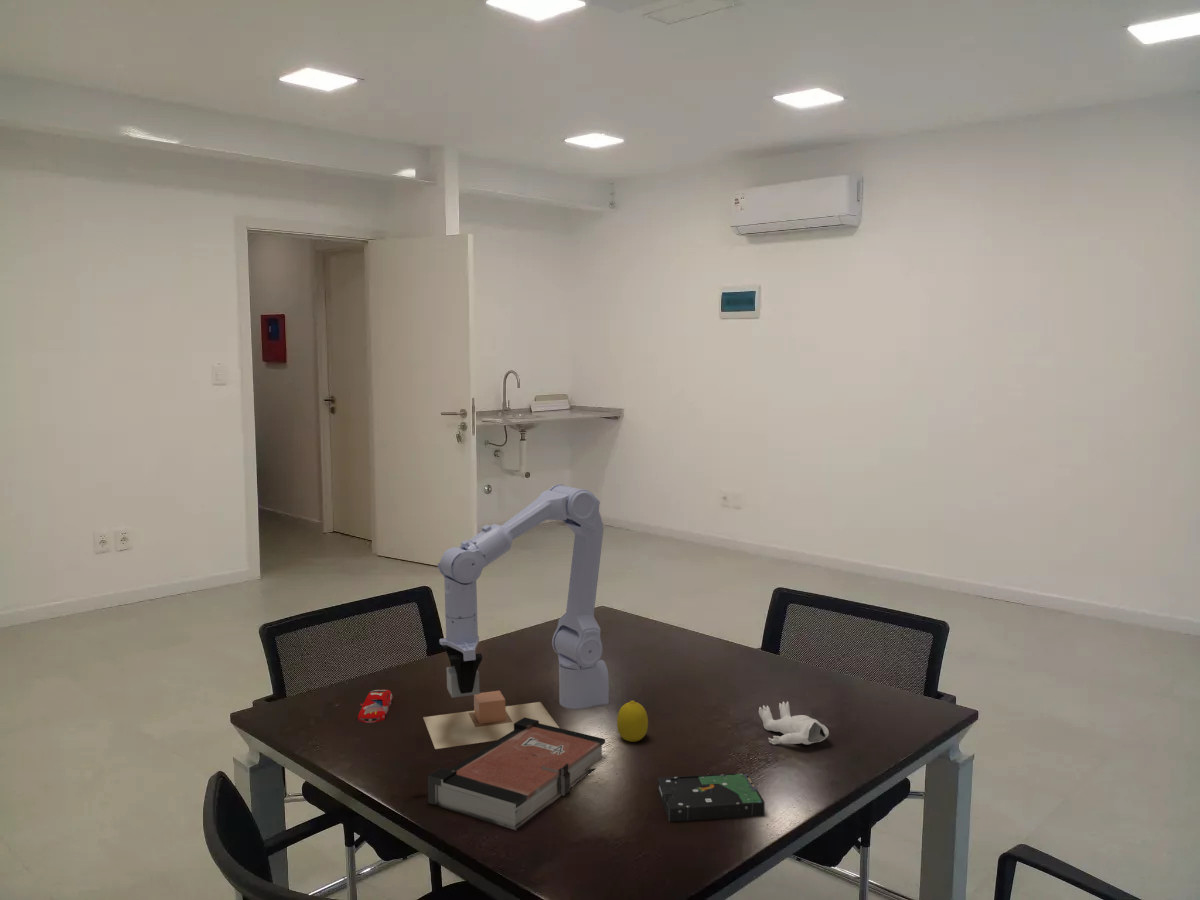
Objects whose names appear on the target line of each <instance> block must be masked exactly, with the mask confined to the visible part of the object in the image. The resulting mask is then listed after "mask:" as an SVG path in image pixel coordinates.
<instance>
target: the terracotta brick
mask: <svg viewBox="0 0 1200 900" xmlns="http://www.w3.org/2000/svg"><path fill="white" fill-rule="evenodd" d="M505 706H506V698H505V697H504V695H503V694H502V691H501V690H494V691H493V690H492V691H486V692H479V694H476V695H473V711H474V715H475V716H476V718H477V720H478V722H479V724H482V723H489V722H497V721H504V720H506V708H505Z"/></svg>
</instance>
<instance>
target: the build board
mask: <svg viewBox="0 0 1200 900" xmlns="http://www.w3.org/2000/svg"><path fill="white" fill-rule="evenodd" d="M505 708H506V720H504V721H497V722H489V723H482V724H479V722H478V720H477V718H476V716H475V715H474V710H467V711H461V712H460V711H459V712H453V713H452V712H451V713H447V714H437V715H430V716H423V717H422V718H423V721H424V723H425V726H426V729H427V731H428V734H429V736H430V739H431V742H432V744H433V747H434V749H435V750H441V749H445V748H454V747H461V746H467V745H474V744H479V743H481V744H482V743H487V742H488V743H489V742H495V741H497V740H499V739H500V738H502V737H504V736H505V735H507V734H509V733H510V732H512V731H513V730H514V723H516V722H518V721H519V720H521V719H523V718H524V717H525V718H529V719H534V720H538V721H539V723H540V724H544V725H548V726H552V727H557V728H560V727H559V726H558V724H557V723H556V721H555V720H554V718H553V717H552V716H551V715H550V713H549V712H548V710H547V709H546V708H545V706H544V705H543V703H542V702H541V701H537V702H536V701H535V702H529V703H523V704H522V703H520V704H515V705H505Z"/></svg>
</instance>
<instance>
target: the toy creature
mask: <svg viewBox="0 0 1200 900" xmlns="http://www.w3.org/2000/svg"><path fill="white" fill-rule="evenodd" d="M778 704H779V705H778V709H779V717H780V718H779V719H778V718H777V719H773V714H772V712H771V709H770V707H769V706H768V705H766V706H765V705H764V704H763V705H762V707H761V706H759V709H758V714H759V717H760V718H761V720H762V722H763V723H762V725H763V727H764V729H765V730H766V731H767V732H768V731H769V732H771V731H772V732H776V733H778V732H779V733H781V734H783V735H781V736H779V735H773V736H772V737H773V738H770V737H768V738H767V739H768V742H769V743H771V744H772V745H778V744H784V745H785V744H787V745H789V744H790V745H791V744H792V745H794V744H795V745H796V744H803V745H812V744H814V743H820V742H823V741H825V740H826V739H827V738H828V737H829V735H830V732H829V729H828V728H827V727H826V726H825V724H822V723H820V722H819V720H817V719H815V718H812V717H810V716H808V715H806V714H805V715H804V714H798V715H791V711H790V709H791V708H790V702H789V701H786V702H785V701H782V703H780V702H779V703H778Z"/></svg>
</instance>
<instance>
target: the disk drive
mask: <svg viewBox="0 0 1200 900" xmlns="http://www.w3.org/2000/svg"><path fill="white" fill-rule="evenodd" d="M749 776H750V775H749V774H748V773H744V774H743V773H734V772H733V773H731V772H730V773H729V772H728V773H722V774H721V773H719V774H716V773H715V774H701V775H700V774H699V775H682V776H663V777H658V778H657V792H658V795H659V799H660V800H661V803H662V806H663V809H664V811H665V815H666V817H667V821H668V822H670V823H673V822H674V823H675V822H689V821H703V820H704V821H705V820H706V821H707V820H719V819H720V820H721V819H737V818H753V817H755V818H756V817H765V812H766V811H765V808H766V807H765V806H766V805H765V802H766V801H765V800H764V799H763V797H762V795H761V793H760V792H759V790H758V787H757V786H755V785H754V782H753V781H752V779H751V778H750V777H749Z"/></svg>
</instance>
